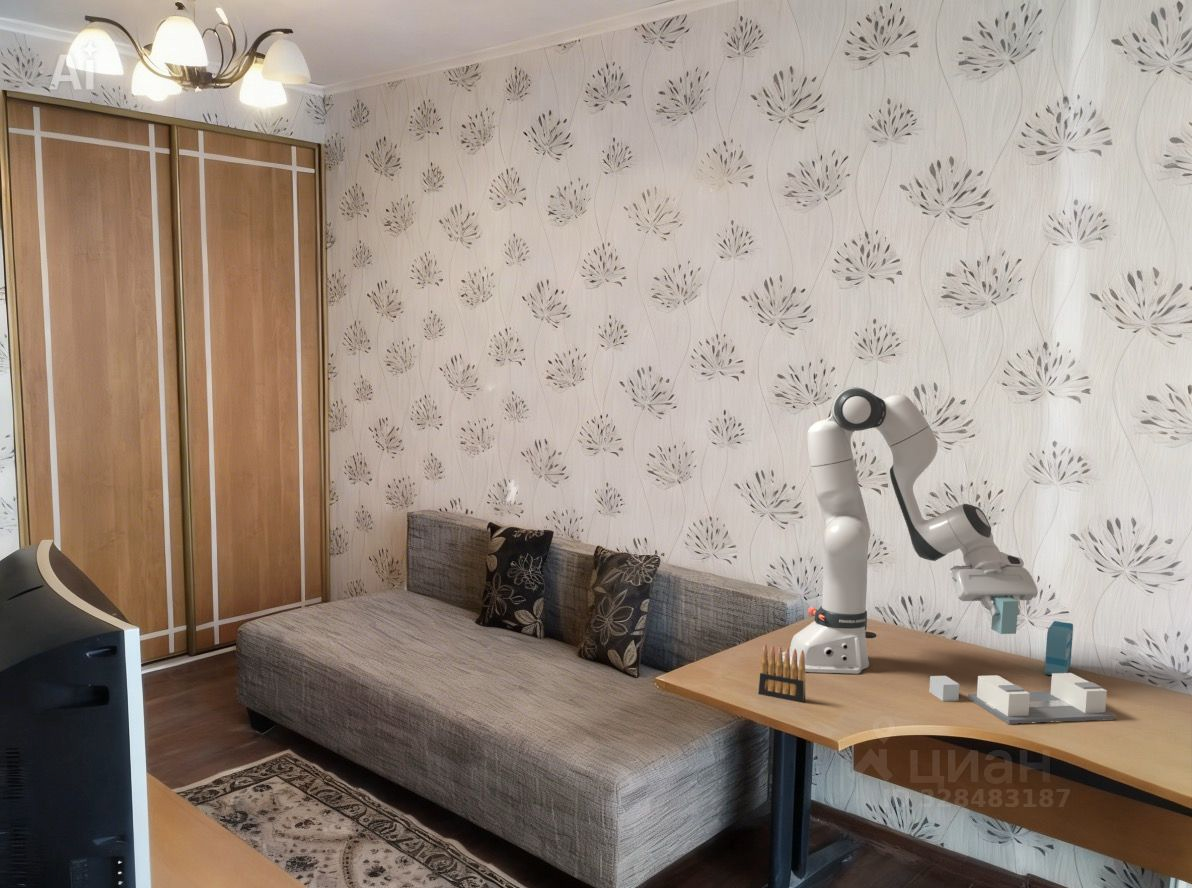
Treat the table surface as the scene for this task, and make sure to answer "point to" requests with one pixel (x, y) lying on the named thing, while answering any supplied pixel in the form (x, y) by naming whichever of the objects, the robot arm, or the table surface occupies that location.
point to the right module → (1078, 692)
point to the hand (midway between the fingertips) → (1006, 614)
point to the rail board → (1044, 710)
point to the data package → (1058, 648)
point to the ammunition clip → (782, 675)
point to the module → (1005, 615)
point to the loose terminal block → (944, 688)
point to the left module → (1003, 695)
